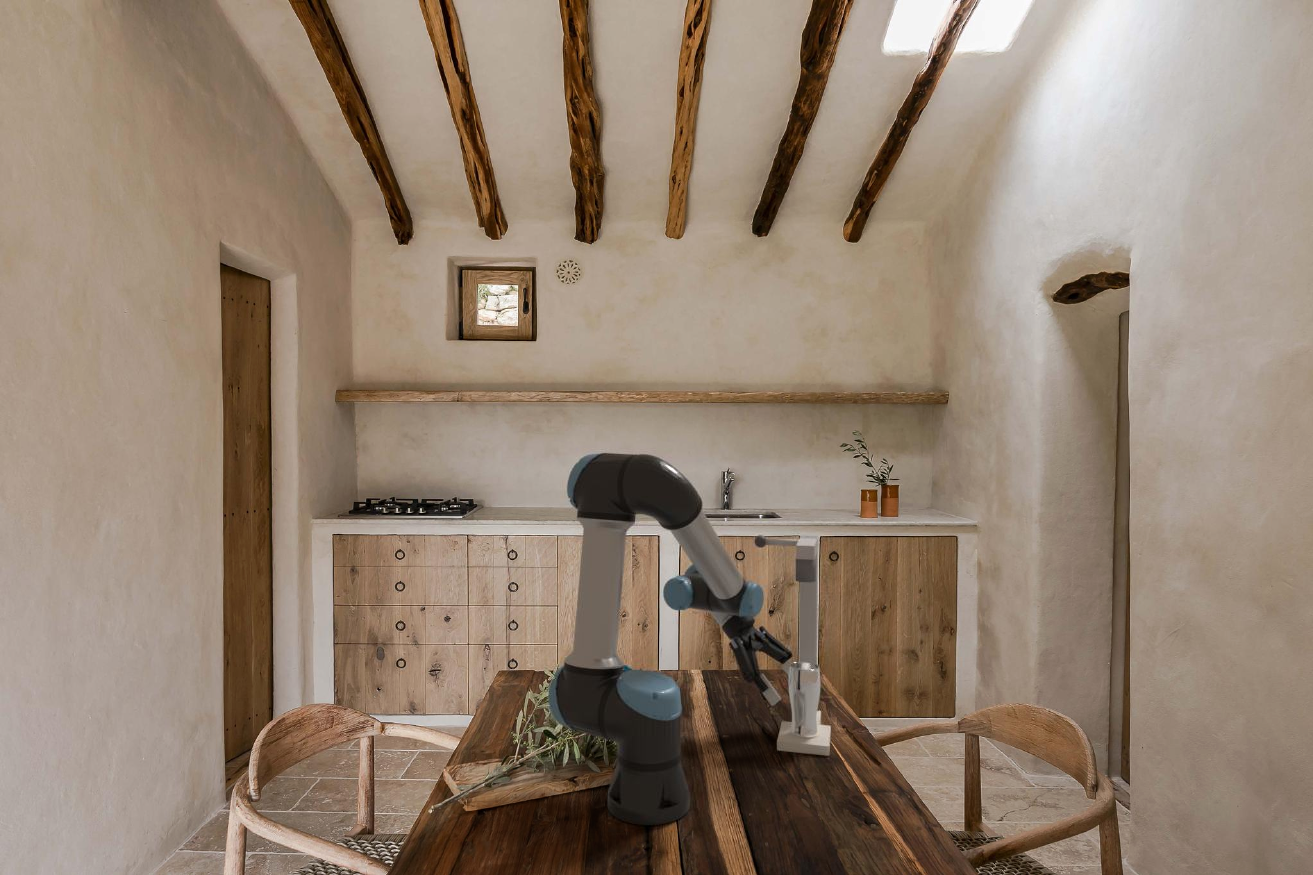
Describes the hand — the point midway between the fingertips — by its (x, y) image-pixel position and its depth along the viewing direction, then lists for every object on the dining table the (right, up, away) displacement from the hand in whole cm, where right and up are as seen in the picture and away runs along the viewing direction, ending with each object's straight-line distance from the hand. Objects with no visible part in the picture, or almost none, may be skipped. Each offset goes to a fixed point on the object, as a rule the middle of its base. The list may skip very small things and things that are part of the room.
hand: (790, 694), depth 172 cm
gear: (-35, -10, +31) cm, 48 cm away
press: (0, -10, +3) cm, 10 cm away
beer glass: (+3, -8, -2) cm, 9 cm away
